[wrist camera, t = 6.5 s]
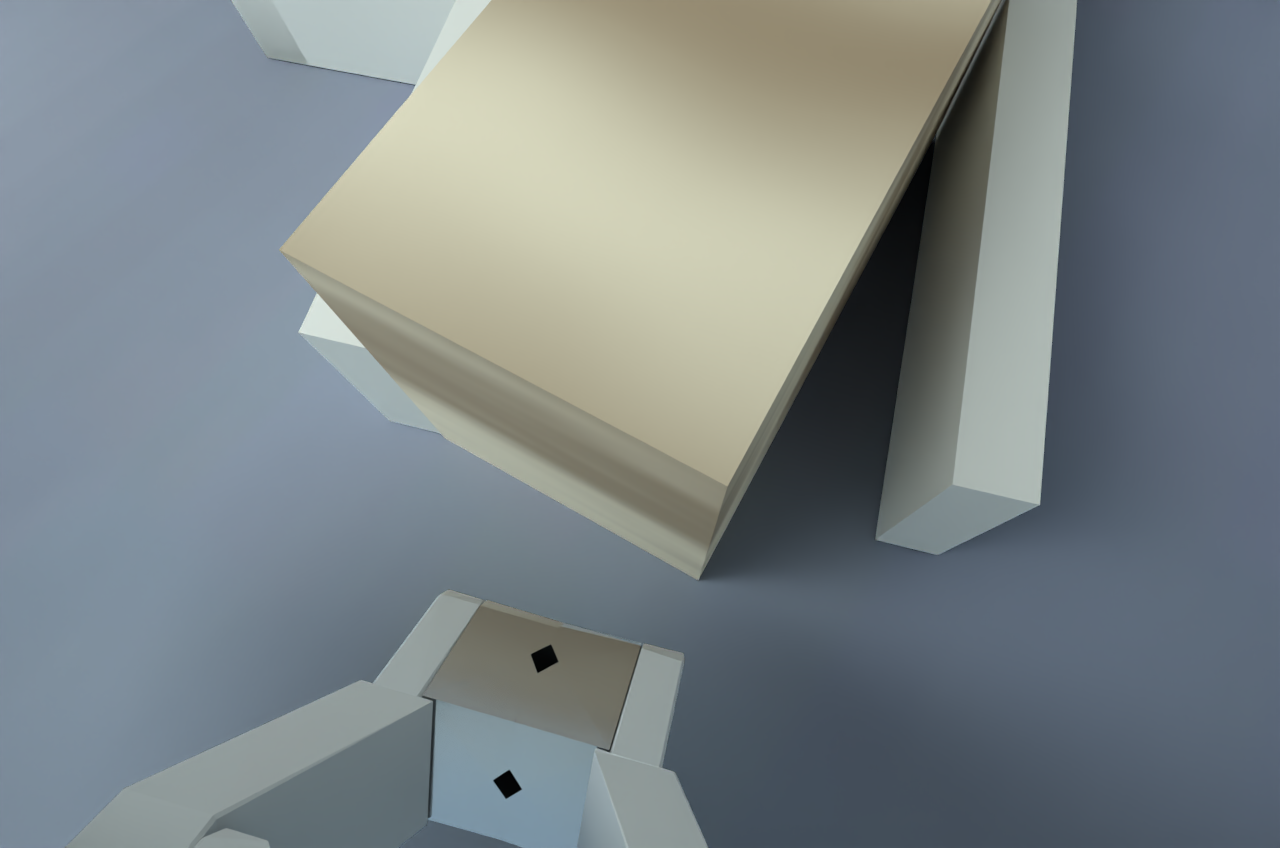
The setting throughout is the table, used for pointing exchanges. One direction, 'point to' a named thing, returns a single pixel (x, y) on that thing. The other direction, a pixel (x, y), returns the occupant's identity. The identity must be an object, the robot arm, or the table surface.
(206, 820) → the robot arm
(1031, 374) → the trap lane
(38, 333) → the table surface
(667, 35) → the birch block
